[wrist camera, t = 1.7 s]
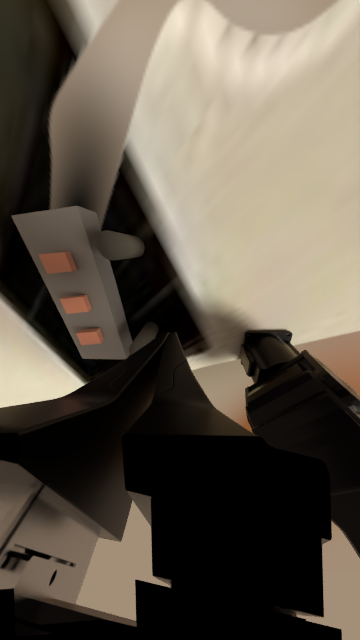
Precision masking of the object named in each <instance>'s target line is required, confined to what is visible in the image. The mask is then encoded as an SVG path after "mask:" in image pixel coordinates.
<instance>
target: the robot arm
mask: <svg viewBox="0 0 360 640" xmlns="http://www.w3.org/2000/svg"><path fill="white" fill-rule="evenodd" d="M248 334H250V335H248ZM287 334H288V335H287ZM247 335H248V336H247ZM291 338H292V333H291V332H290V331H248V332H246V333H245V335H244V342H243V344H242V345H241V351H240V359H241V364H242V365H243V366H244V369H245V371H246V374H247V375H248V376H249V377H252V379H253V381H254V384H253V385H252V386H250V387H247V388H246V389H245V393H246V394H245V395H246V413H247V418H248V422H249V424H250V426H251V428H252V432H253V433H254V434H253V433H251V432H250V431H248V430H246V429H245V428H243V427H242V426H241V425H239V424H238V423H236V422H234V421H233V420H232V419H230V418H229V417H227V416H226V415H224V414H223V413H222V412H220V411H219V410H217V409H216V408H215V407H214V406H213V405H212V403H211V402H210V401H209V399H208V398H207V396H206V394H205V393H204V391H203V389H202V388H201V386H200V385H199V383H198V381H197V380H196V378H195V376H194V375H193V373H192V371H191V369H190V366H189V364H188V361H187V359H186V356H185V354H184V351H183V349H182V346H181V344H180V341H179V339H178V336H177V333H176V332H170V333H169V332H164V333H162V334H160V335H159V336H158V337H156V338H155V339H153V340H152V341H150V342H149V343H148V344H146V345H145V346H143V347H142V348H141V349H139V350H138V351H136V352H135V353H133V354H132V355H131V356H129V357H128V358H126V359H125V360H123V361H122V362H121V363H119V364H118V365H116V366H115V367H113V368H112V369H110V370H109V371H107V372H105V373H104V374H102V375H101V376H99V377H97V378H96V379H94V380H92V381H91V382H89V383H87V384H86V385H84V386H82V387H81V388H79V389H77V390H76V391H74V392H72V393H70V394H68V395H66V396H63V397H61V398H57V399H53V400H47V401H41V402H35V403H28V404H22V405H16V406H9V407H3V408H0V640H342V632H341V629H337V628H333V627H329V626H324V625H321V624H316V623H312V622H308V621H306V619H302V618H298V617H297V616H296V615H305V616H315V617H324V608H323V573H322V572H323V569H322V544H324V543H326V542H327V541H329V540H331V538H332V534H331V521H332V522H333V523H334V524H335V525H336V526H338V527H339V528H340V530H341V531H342V532H343V533H344V535H345V536H346V538H347V539H348V540H349V542H350V544H351V545H352V547H353V548H354V550H355V551H356V553H357V555H358V556H359V558H360V397H359V395H358V394H357V393H356V392H355V391H354V390H353V389H352V388H351V387H350V386H349V385H348V384H347V383H346V382H344V381H343V380H342V379H341V378H340V377H339V376H337V375H336V374H335V373H334V372H333V371H332V370H330V369H329V368H328V367H327V366H326V365H324V364H323V363H322V362H320V361H319V360H318V359H317V358H315V357H314V356H313V355H312V354H310V353H309V352H308V351H307V350H304V351H302V352H301V354H300V353H299V352H298V351H297V350H296V349H295V348H294V347H293V346H292V344H291V343H290V341H291ZM132 500H133V501H134V502H135V504H136V505H137V507H138V508H139V510H140V511H141V512H142V514H143V515H144V517H145V518H146V520H147V521H148V523H149V524H150V526H151V531H152V570H153V571H152V572H153V576H154V577H156V578H157V579H159V580H161V581H163V582H165V583H167V584H168V585H170V588H169V587H165V586H160V585H156V584H152V583H148V582H144V581H140V580H135V586H136V621H134V620H130V619H127V618H123V617H119V616H116V615H112V614H108V613H105V612H101V611H97V610H94V609H90V608H87V607H83V606H79V605H76V601H77V598H78V595H79V592H80V589H81V586H82V583H83V580H84V577H85V575H86V572H87V569H88V566H89V563H90V560H91V557H92V554H93V551H94V548H95V546H96V542H97V540H98V537H99V538H104V539H109V540H115V541H119V542H121V540H122V537H123V533H124V530H125V526H126V522H127V519H128V515H129V511H130V508H131V503H132Z"/></svg>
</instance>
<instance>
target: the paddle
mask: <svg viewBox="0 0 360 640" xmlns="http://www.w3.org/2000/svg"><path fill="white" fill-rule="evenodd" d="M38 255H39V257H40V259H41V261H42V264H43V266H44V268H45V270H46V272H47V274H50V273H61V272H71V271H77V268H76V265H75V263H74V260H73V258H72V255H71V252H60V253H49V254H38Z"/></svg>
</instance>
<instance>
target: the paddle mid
mask: <svg viewBox="0 0 360 640" xmlns="http://www.w3.org/2000/svg"><path fill="white" fill-rule="evenodd" d="M60 301H61V303H62V305H63V307H64V310H65V312H66V314H70V313H80V312H89V311H90V310H91V309H92V307H91V304H90V302H89V299H88V297H87V295H77V296H67V297H63V298H61V299H60Z"/></svg>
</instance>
